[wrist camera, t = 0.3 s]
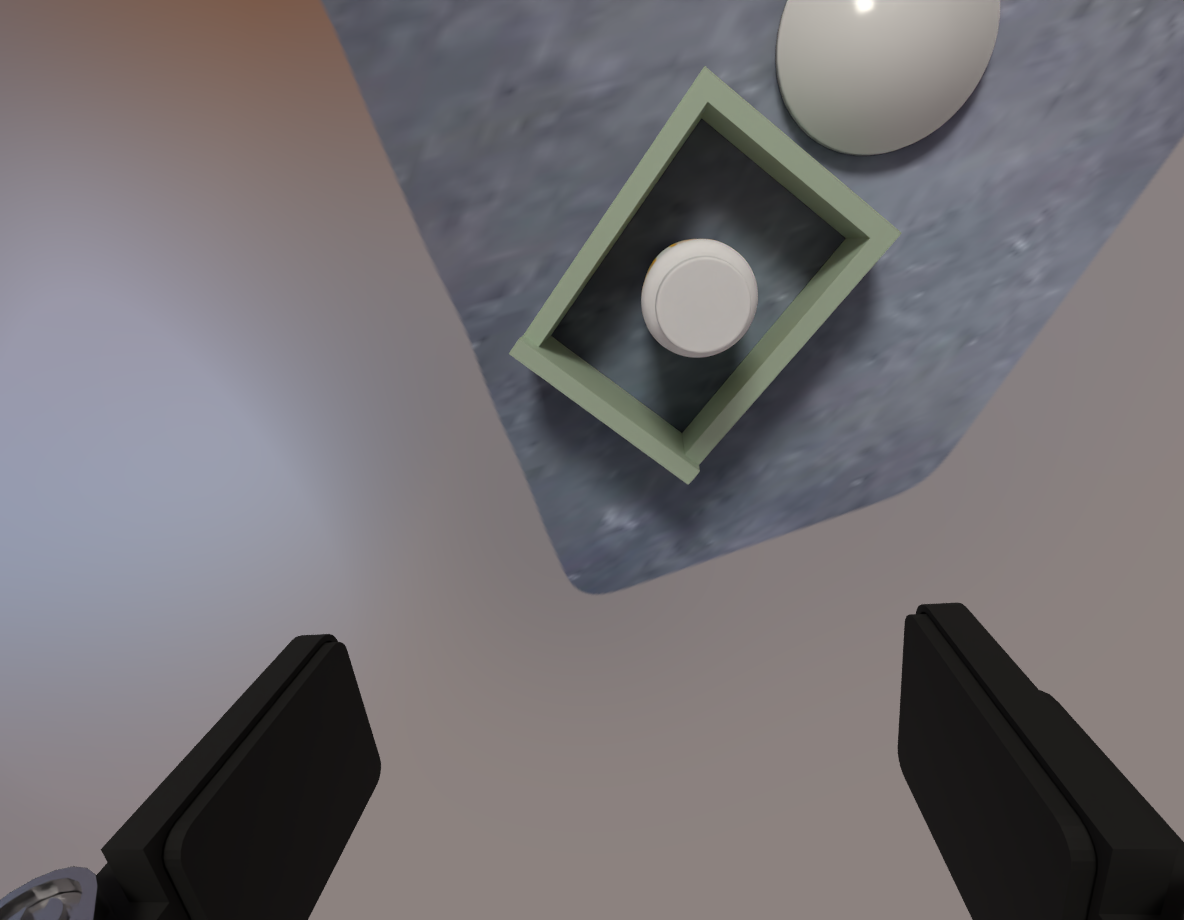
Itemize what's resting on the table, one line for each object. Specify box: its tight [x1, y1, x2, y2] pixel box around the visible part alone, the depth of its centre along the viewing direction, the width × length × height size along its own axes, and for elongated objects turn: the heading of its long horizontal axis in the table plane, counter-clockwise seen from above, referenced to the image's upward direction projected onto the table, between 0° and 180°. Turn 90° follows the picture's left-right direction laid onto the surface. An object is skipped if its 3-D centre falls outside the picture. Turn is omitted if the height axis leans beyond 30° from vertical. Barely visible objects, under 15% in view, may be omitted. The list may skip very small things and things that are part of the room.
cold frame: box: [509, 66, 901, 485], centre depth 32 cm, size 16×12×5 cm
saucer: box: [775, 0, 1000, 156], centre depth 29 cm, size 10×10×1 cm
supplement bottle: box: [641, 239, 758, 358], centre depth 30 cm, size 5×5×10 cm
